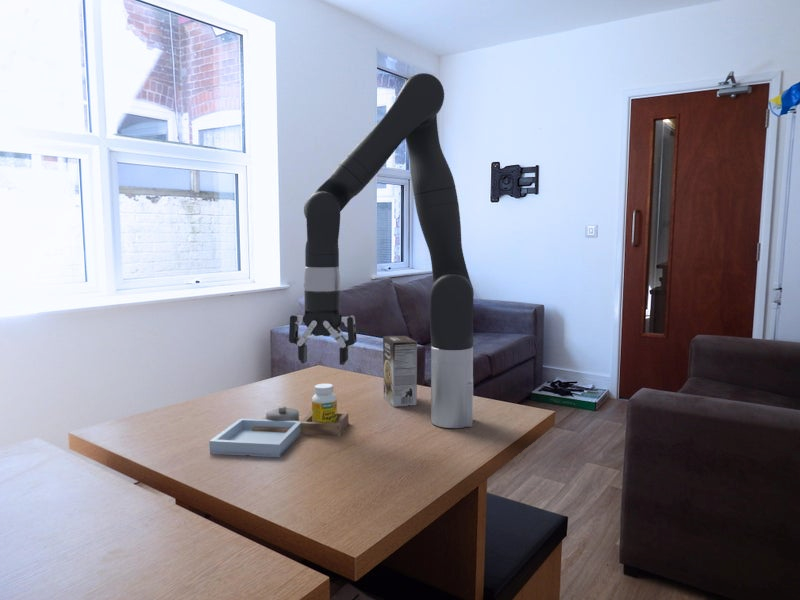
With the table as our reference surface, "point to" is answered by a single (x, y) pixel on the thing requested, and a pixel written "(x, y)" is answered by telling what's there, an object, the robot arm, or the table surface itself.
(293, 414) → the block
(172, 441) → the table surface
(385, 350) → the coffee box
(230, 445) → the tray
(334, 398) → the supplement bottle
